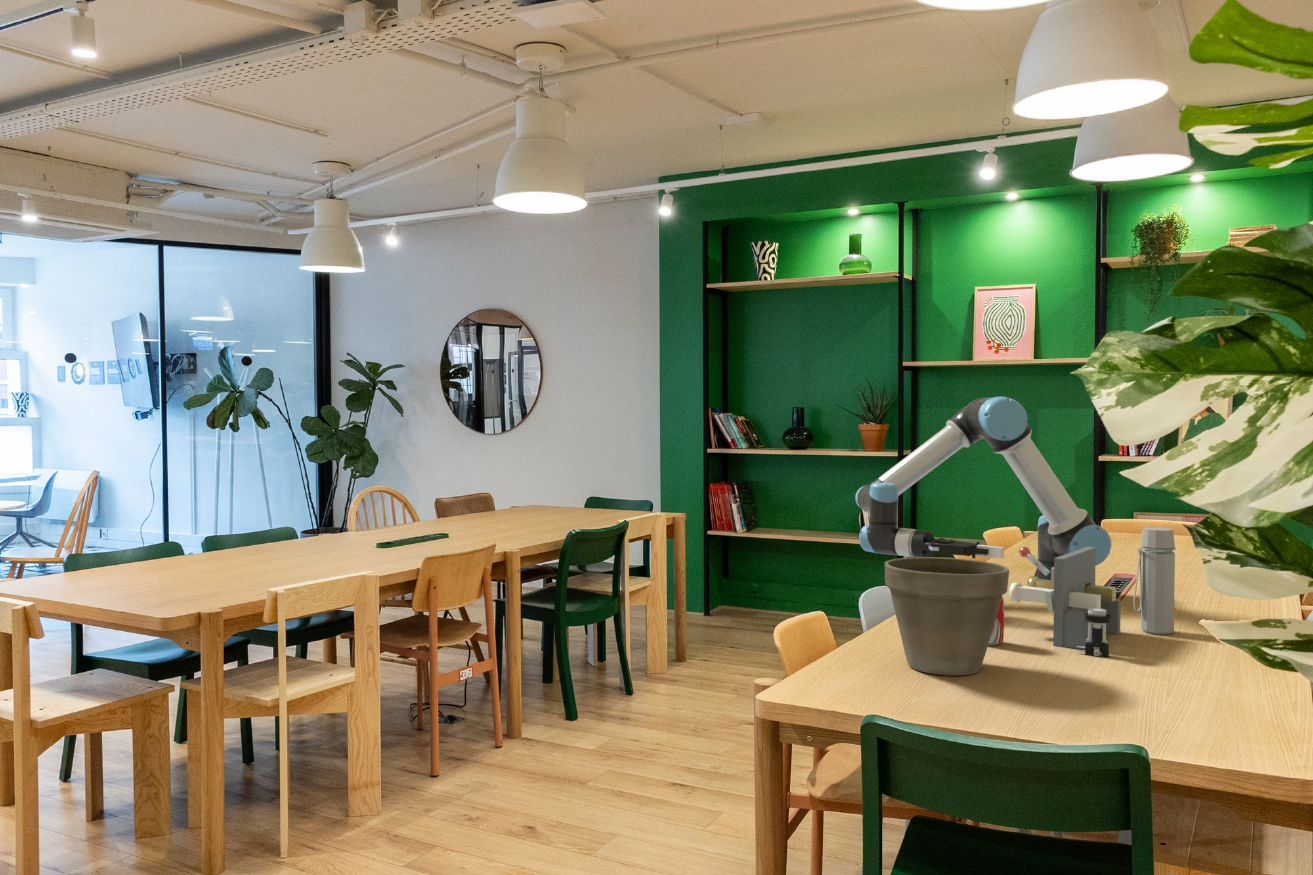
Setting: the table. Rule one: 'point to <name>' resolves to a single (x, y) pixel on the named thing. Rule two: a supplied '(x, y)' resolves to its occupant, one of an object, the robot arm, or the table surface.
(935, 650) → the plant pot
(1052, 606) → the rocker
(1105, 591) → the brass plunger
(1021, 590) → the white plunger
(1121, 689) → the table surface
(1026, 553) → the toggle lever
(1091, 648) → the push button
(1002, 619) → the soda can
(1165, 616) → the water bottle
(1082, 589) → the panel
